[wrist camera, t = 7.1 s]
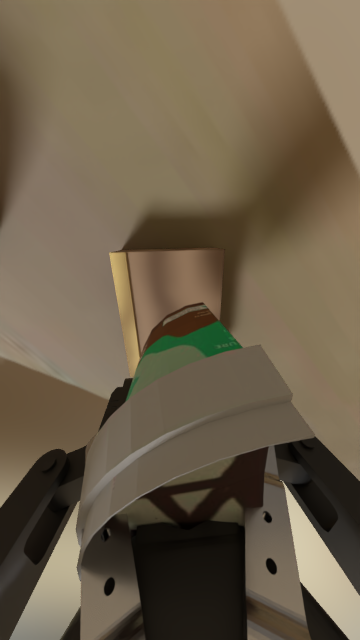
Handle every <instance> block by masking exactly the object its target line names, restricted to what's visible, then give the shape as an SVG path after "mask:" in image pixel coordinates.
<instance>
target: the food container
mask: <svg viewBox="0 0 360 640" xmlns="http://www.w3.org/2000/svg"><path fill="white" fill-rule="evenodd" d="M292 396H293V393H292V392H291V390H290V389H289V387H288V386H287V384H286V383H285V381H284V380H283V378H282V377H281V375H280V374H279V372H278V371H277V369H276V368H275V366H274V365H273V363H272V362H271V360H270V359H269V357H268V356H267V354H266V353H265V351H264V350H263V348H262V347H261V345H255V346H251V347H246V348H243V347H242V346H241V345H240V344H239V343H238V342H237V341H236V339H235V338H234V337H233V336H232V335H231V334H230V333H229V331H228V330H227V329H226V328H225V327H224V326H223V325H222V323H221V322H220V321H219V320H218V319H217V318H216V317H215V315H214V314H213V313H212V312H211V311H210V310H209V308H208V307H207V306H206V305H205V304H204V303H203V302H200V303H196V304H191V305H186V306H184V307H182V308H180V309H178V310H176V311H174V312H172V313H170V314H168V315H167V316H166V317H165V318H163V319H162V320H161V321H160V322H159V323H158V324H157V325H156V326H155V327H154V328H153V329H152V331H151V333H150V335H149V337H148V339H147V341H146V343H145V345H144V347H143V350H142V353H141V356H140V359H139V362H138V365H137V368H136V371H135V374H134V377H133V380H132V383H131V386H130V389H129V392H128V396H127V399H126V402H125V403H124V404H123V405H122V406H121V407H120V408H119V409H118V410H117V411H115V412H114V413H113V414H112V415H111V416H110V417H109V418H108V420H107V421H106V423H105V424H104V425H103V427H102V428H101V429H100V431H99V432H98V433H97V435H96V436H95V438H94V440H93V443H92V445H91V447H90V449H89V452H88V454H87V459H86V465H85V471H84V478H83V485H82V491H81V498H80V505H79V512H78V518H77V525H76V533H77V538H78V543H79V545H80V547H81V549H80V554H79V559H78V564H77V571H78V575H79V579H80V581H81V562H82V559H83V556H84V553H85V549H86V547H87V545H88V544H89V542H90V540H91V539H92V537H93V535H94V534H95V533H96V532H97V531H98V530H99V529H100V528H101V527H102V526H103V525H104V524H105V523H106V522H107V521H108V520H109V519H110V518H111V517H112V516H114V515H115V514H118V515H119V514H127V516H128V519H129V524H130V530H131V537H133V536H135V535H136V533H137V526H142V525H151V524H160V523H163V524H166V525H170V526H174V527H177V528H181V529H185V530H190V529H192V528H194V527H196V526H198V525H199V524H201V523H203V522H205V521H207V520H211V521H221V522H237V523H238V525H239V526H243V517H244V512H245V508H255V507H263V496H264V475H265V467H266V461H267V454H268V448H269V446H273V445H278V444H283V443H288V442H294V441H299V440H304V439H310V438H314V436H315V434H314V432H313V431H312V430H311V428H310V427H309V426H308V424H307V423H306V422H305V420H304V419H303V418H302V416H301V415H300V414H299V412H298V411H297V409H296V408H295V407H294V405H293V404H292V403H291V400H292ZM84 528H85V529H84ZM82 529H84V534H83V539H82V544H81V538H82ZM109 537H110V536H109ZM109 537H108V538H107V539H106V541H107V540H108V539H109Z"/></svg>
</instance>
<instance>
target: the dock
mask: <svg viewBox="0 0 360 640" xmlns="http://www.w3.org/2000/svg"><path fill="white" fill-rule="evenodd" d="M224 253H225V249H219V248H180V249H144V250H120V251H115V252H111V253H109V254H110V260H111V266H112V272H113V278H114V283H115V289H116V295H117V301H118V307H119V313H120V319H121V325H122V331H123V337H124V343H125V348H126V354H127V360H128V366H129V372H130V377H134V374H135V371H136V368H137V365H138V362H139V359H140V356H141V353H142V350H143V347H144V345H145V343H146V341H147V339H148V337H149V335H150V333H151V331H152V329H153V328H154V327H155V326H156V325H157V324H158V323H159V322H160V321H161V320H162V319H163V318H165V317H166V316H167V315H168V314H170V313H172V312H174V311H176V310H178V309H180V308H182V307H184V306H186V305H191V304H196V303H200V302H203V303H204V304H205V305H206V306H207V307H208V308H209V310H210V311H211V312H212V313H213V314H214V315H215V317H216V318H217V319H218V320H219V321H220V310H221V296H222V281H223V267H224Z"/></svg>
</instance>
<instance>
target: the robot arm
mask: <svg viewBox="0 0 360 640" xmlns="http://www.w3.org/2000/svg"><path fill="white" fill-rule="evenodd" d="M132 380H133V378H127V379H125V381H124V384H123V387H117V388H116V389H115V390H114V392H113V393H112V394H111V397H110V400H109V403H108V405H107V409H106V411H105V414H104V417H103V420H102V422H101V425H100V428H99V431H100V429H101V428H102V427H103V425H104V424H105V423H106V421H107V420H108V418H109V417H110V416H111V415H112V414H113V413H114V412H115V411H117V410H118V409H119V408H120V407H121V406H122V405H123V404H124V403H125V402H126V399H127V396H128V392H129V389H130V386H131V383H132ZM99 431H98V432H99ZM95 436H96V435H95ZM95 436H94V437H93V438H92V439H91V440H90V441H89V442H88V444H87V445H86V446H84V447H83V448H80V449H78V450H75V451H73V452H70V453H68V454H66V453H65V451H64V450H61V449H55V450H51V451H49V452H47V453H46V454H44V455H43V456H42V457H40V458H39V459H38V460H37V461H36V463H35V464H34V465H33V466H32V468H31V469H30V470H29V472H28V473H27V474H26V475H25V477H24V478H23V480H22V481H21V482H20V483H19V485H18V486H17V487H16V488H15V490H14V491H13V492H12V494H11V495H10V496H9V498H8V499H7V500H6V501H5V503H4V504H3V505H2V507H1V508H0V640H9V639H10V637H11V635H12V633H13V631H14V629H15V627H16V625H17V623H18V621H19V619H20V617H21V615H22V613H23V611H24V609H25V606H26V604H27V603H28V600H29V598H30V596H31V594H32V592H33V590H34V588H35V586H36V584H37V582H38V580H39V578H40V576H41V574H42V572H43V570H44V568H45V566H46V564H47V562H48V560H49V558H50V556H51V554H52V552H53V550H54V548H55V546H56V544H57V542H58V540H59V538H60V536H61V534H62V532H63V530H64V528H65V526H66V524H67V522H68V520H69V518H70V516H71V514H72V512H73V510H74V508H75V506H76V504H77V502H78V501H80V498H81V491H82V485H83V478H84V471H85V465H86V459H87V454H88V452H89V449H90V447H91V445H92V443H93V440H94V438H95ZM280 480H282V481H284V483H285V485H286V486H287V488H288V489H289V490H290V492H291V493H292V495H293V496H294V498H295V499H296V501H297V502H298V504H299V506H300V507H301V508H302V510H303V511H304V513H305V514H306V516H307V517H308V519H309V520H310V522H311V523H312V525H313V526H314V528H315V529H316V531H317V532H318V534H319V535H320V537H321V538H322V540H323V541H324V543H325V544H326V546H327V547H328V549H329V550H330V552H331V553H332V555H333V556H334V558H335V559H336V561H337V562H338V564H339V565H340V567H341V568H342V570H343V571H344V573H345V574H346V576H347V577H348V579H349V580H350V582H351V583H352V585H353V586H354V588H355V589H356V591H357V592H358V594H359V595H360V481H359V480H358V479H357V478H356V477H355V476H354V475H353V474H352V473H351V472H350V471H349V470H348V469H347V468H346V467H345V466H344V465H343V464H342V463H341V462H340V461H339V460H338V459H337V458H336V457H335V456H334V455H333V454H332V453H331V452H330V451H329V450H328V449H327V448H326V447H325V446H324V445H323V444H322V443H321V442H320V441H319V440H318V439H317V438H316V437H315V436H314V438H310V439H304V440H299V441H294V442H288V443H283V444H278V445H273V446H269V448H268V454H267V461H266V467H265V475H264V496H263V507H255V508H245V512H244V517H243V526H239V525H238V523H237V522H221V521H211V520H207V521H205V522H203V523H201V524H199V525H198V526H196V527H194V528H192V529H190V530H185V529H181V528H177V527H174V526H170V525H166V524H163V523H160V524H151V525H142V526H137V533H136V535H135V536H133V537H131V530H130V524H129V519H128V516H127V514H119V515H118V514H115V515H114V516H112V517H111V518H110V519H109V520H108V521H107V522H106V523H105V524H104V525H103V526H102V527H101V528H100V529H99V530H98V531H97V532H96V533H95V534H94V535H93V537H92V539H91V540H90V542H89V544H88V545H87V547H86V549H85V553H84V556H83V559H82V562H81V606H80V608H79V610H78V611H77V613H76V615H75V616H74V618H73V619H72V621H71V623H70V624H69V626H68V628H67V629H66V631H65V633H64V634H63V636H62V638H61V639H60V640H349V639H348V638H347V637H346V635H345V634H344V633H343V632H342V631H341V629H340V628H339V627H338V626H337V625H336V623H335V622H334V621H333V620H332V619H331V618H330V616H329V615H328V614H327V613H326V612H325V610H324V609H323V608H322V607H321V606H320V605H319V603H318V602H317V601H316V600H315V599H314V597H313V596H312V595H311V594H310V593H309V592H308V590H307V589H306V588H305V587H304V586H303V584H302V583H301V582H300V580H299V573H298V567H297V561H296V555H295V549H294V542H293V536H292V531H291V524H290V518H289V513H288V506H287V500H286V494H285V488H284V485H283V482H282V481H280ZM84 529H85V528H84ZM84 529H82V538H81V544H82V539H83V534H84ZM109 536H110V537H109ZM108 537H109V539H108V540H107V541H106V539H107V538H108Z"/></svg>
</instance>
